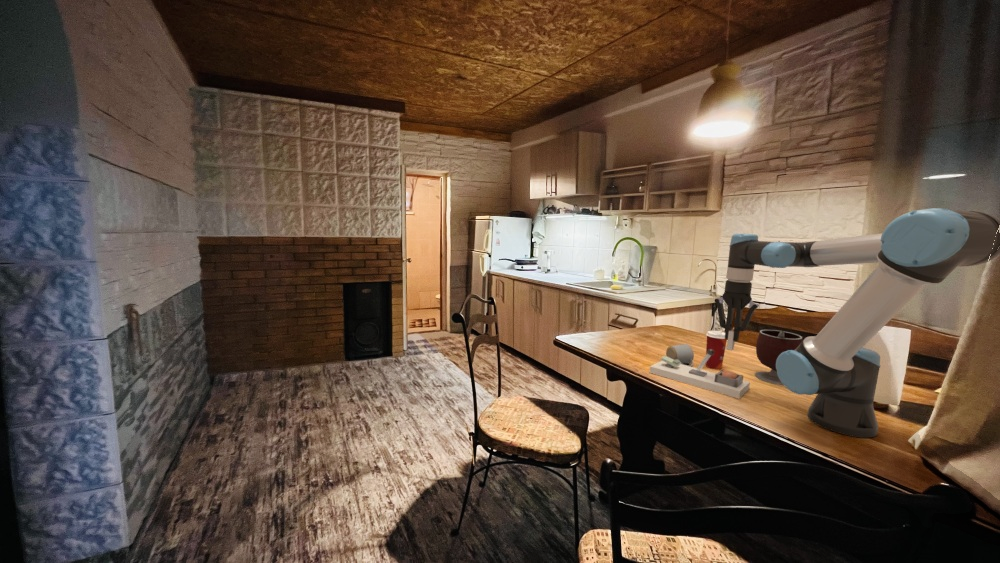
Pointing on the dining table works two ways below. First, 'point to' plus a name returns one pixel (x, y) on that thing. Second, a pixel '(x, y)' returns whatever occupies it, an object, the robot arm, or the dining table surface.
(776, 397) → the dining table surface
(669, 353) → the ceramic mug
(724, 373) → the terracotta button
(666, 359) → the green rocker
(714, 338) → the paper cup
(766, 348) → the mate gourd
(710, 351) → the metal lever
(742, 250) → the robot arm
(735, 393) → the panel
